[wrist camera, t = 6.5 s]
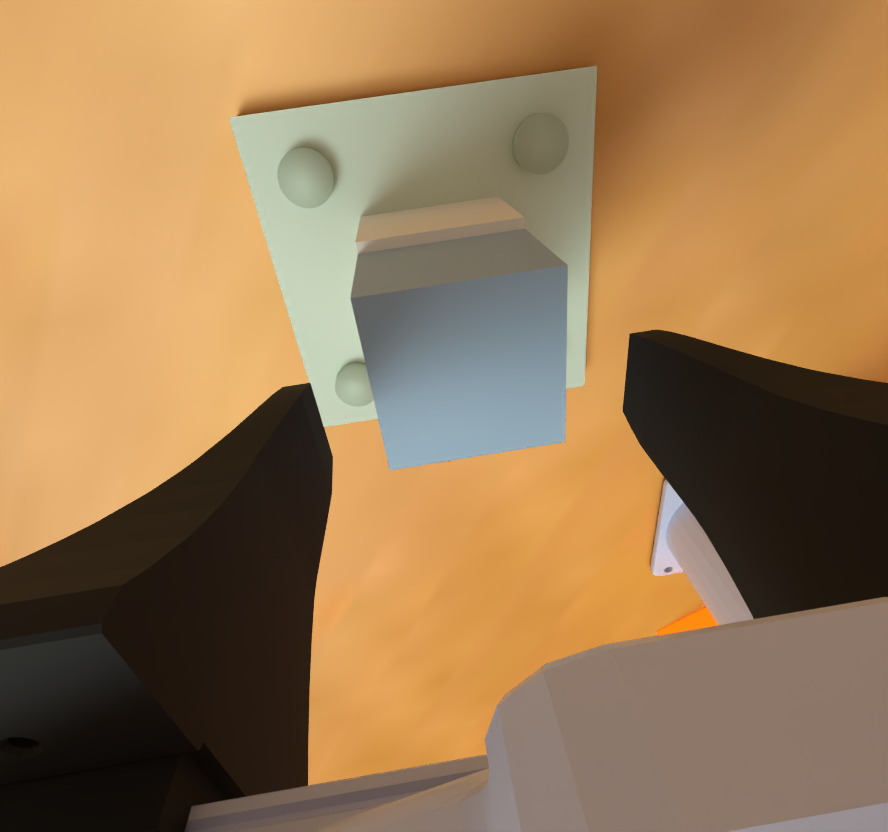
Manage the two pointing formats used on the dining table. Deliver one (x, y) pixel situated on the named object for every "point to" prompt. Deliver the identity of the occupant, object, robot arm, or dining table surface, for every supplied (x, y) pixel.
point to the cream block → (436, 224)
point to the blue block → (464, 345)
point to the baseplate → (415, 197)
